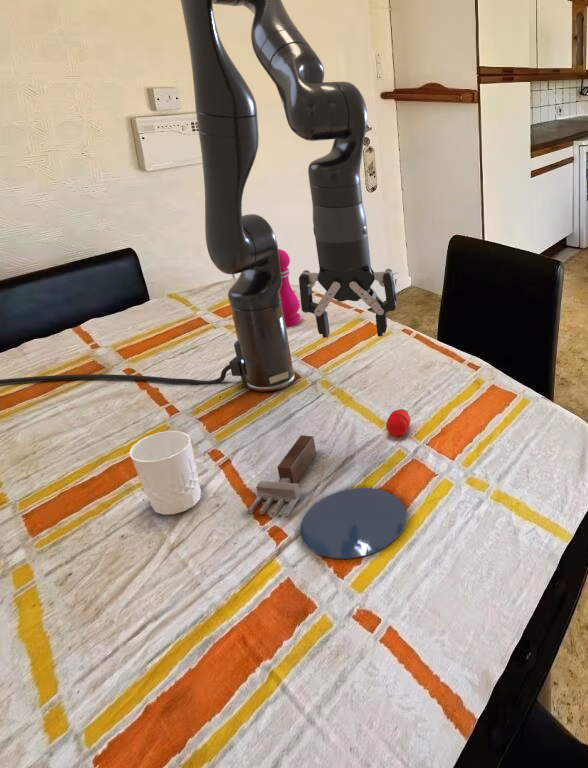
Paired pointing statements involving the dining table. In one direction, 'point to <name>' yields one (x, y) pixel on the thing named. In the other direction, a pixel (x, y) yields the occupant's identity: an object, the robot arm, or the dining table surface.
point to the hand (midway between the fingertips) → (353, 335)
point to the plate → (353, 523)
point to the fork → (286, 478)
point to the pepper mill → (288, 293)
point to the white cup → (167, 471)
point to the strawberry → (398, 422)
